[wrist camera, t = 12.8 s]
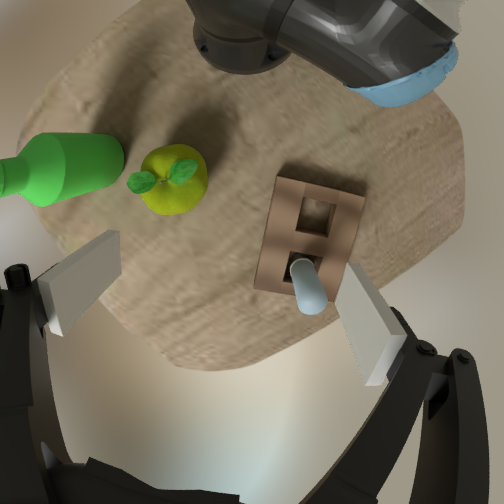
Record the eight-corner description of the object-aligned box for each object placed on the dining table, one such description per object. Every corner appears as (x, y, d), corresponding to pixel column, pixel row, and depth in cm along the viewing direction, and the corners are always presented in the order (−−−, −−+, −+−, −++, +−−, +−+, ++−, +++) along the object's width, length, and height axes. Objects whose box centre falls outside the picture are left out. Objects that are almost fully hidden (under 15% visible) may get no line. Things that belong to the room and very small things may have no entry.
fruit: (149, 151, 38) (119, 153, 29) (209, 140, 38) (193, 137, 28) (158, 210, 41) (131, 226, 32) (217, 202, 41) (204, 217, 31)
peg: (291, 250, 43) (302, 285, 32) (314, 255, 43) (331, 290, 32) (286, 272, 44) (294, 312, 33) (308, 276, 44) (322, 317, 33)
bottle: (95, 196, 41) (-19, 243, 17) (76, 152, 38) (-42, 171, 14) (135, 170, 39) (15, 200, 16) (114, 124, 36) (-8, 116, 13)
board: (276, 175, 39) (277, 176, 37) (359, 195, 39) (365, 197, 37) (254, 281, 45) (253, 288, 42) (330, 294, 45) (333, 301, 43)
